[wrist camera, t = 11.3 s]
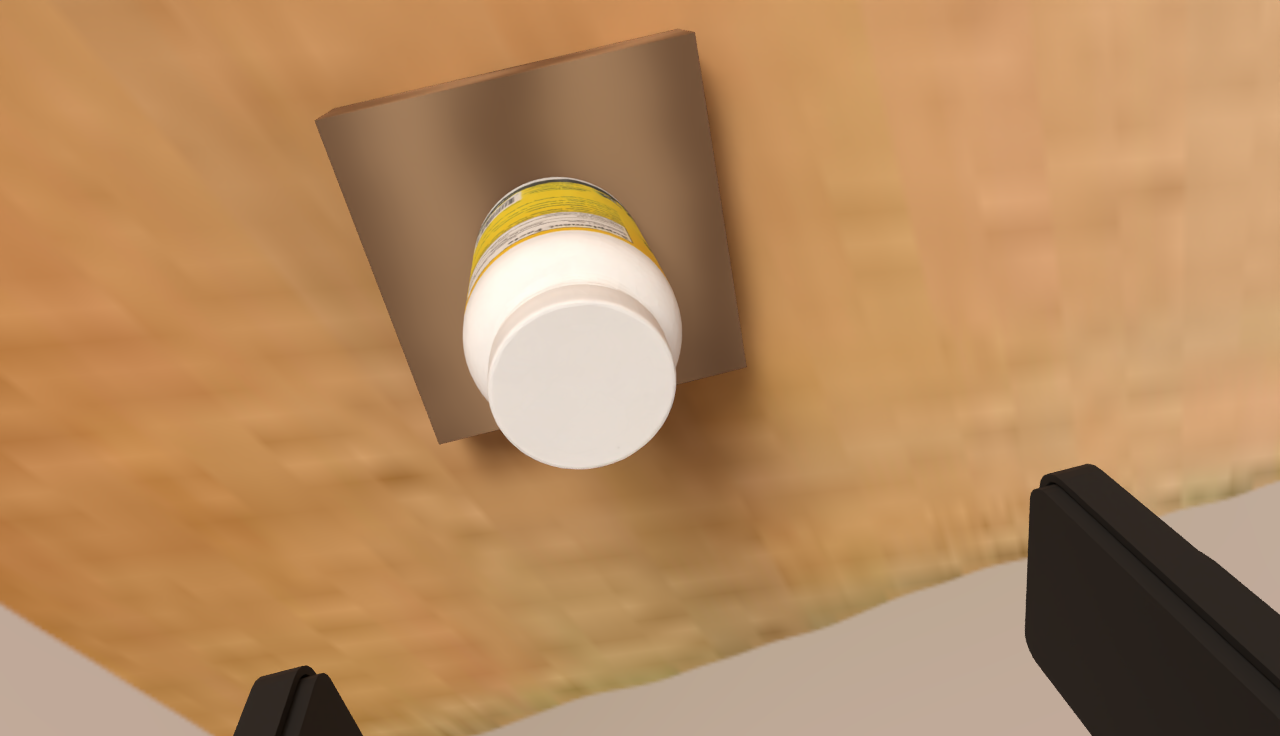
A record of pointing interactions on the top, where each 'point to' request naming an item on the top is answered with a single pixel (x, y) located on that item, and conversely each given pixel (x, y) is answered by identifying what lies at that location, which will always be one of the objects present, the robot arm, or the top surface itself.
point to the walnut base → (520, 153)
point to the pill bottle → (570, 325)
